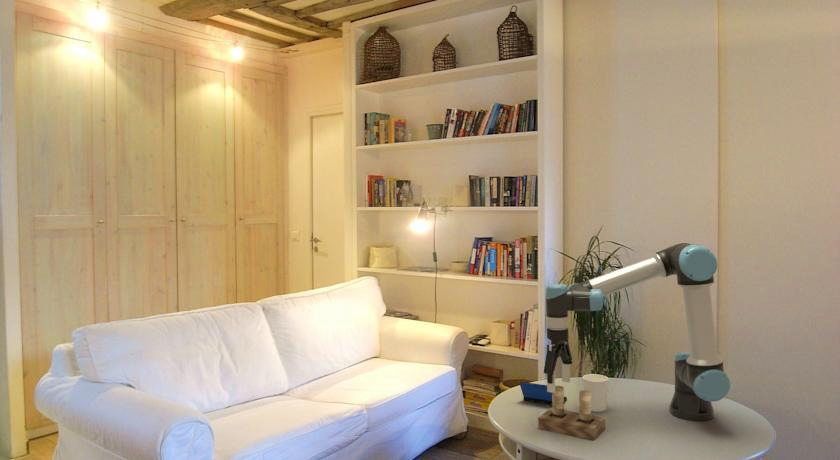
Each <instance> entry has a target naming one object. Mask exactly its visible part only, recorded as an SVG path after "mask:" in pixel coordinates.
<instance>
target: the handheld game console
mask: <svg viewBox="0 0 840 460" xmlns="http://www.w3.org/2000/svg"><path fill="white" fill-rule="evenodd" d="M519 386H520V389H521V393H522V396H523V401H525V402H530V403H537V404H545V405H550V406H552V392H547V384H541V383H533V382H532V383H531V382H524V381H520V383H519ZM567 400H568V397H567V396H564V403H565V402H567Z"/></svg>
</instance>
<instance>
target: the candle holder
mask: <svg viewBox="0 0 840 460" xmlns="http://www.w3.org/2000/svg"><path fill="white" fill-rule="evenodd" d="M609 380H610V379H609V377H608V376H606V375H603V374H599V373H598V374H596V373H589V374H584V375H583V376H582V390H587V391H590V392H591V412H595V413H601V412H605V411H607V409H608V395H609V393H608V392H609Z"/></svg>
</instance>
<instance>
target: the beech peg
mask: <svg viewBox="0 0 840 460" xmlns="http://www.w3.org/2000/svg"><path fill="white" fill-rule="evenodd" d="M564 394H565V388H564V386H561V385H555V393H552V405H551V406H552V407H551V408H552V417H557V418H564V410H565V402H564V397H565V395H564Z"/></svg>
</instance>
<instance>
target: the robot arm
mask: <svg viewBox="0 0 840 460" xmlns="http://www.w3.org/2000/svg"><path fill="white" fill-rule="evenodd" d="M717 268H718V260H717V257H716V255H715V253H713V252H712V251H711V250H710V249H709V248H707V247H706V246H703V245H701V244H693V243H692V244H691V243H687V242H682V243H681V242H680V243H676V244H674V245H670V246H669V247H666V248H664V249H662V250H659V251H656V252H654V253H653V254H652V256H651V257H648V258H645V259H643V260H640V261H637V262H635V263H632V264H629V265H626V266H624V267H621V268H618V269H616V270H613V271H610V272H607V273H604V274H602V275H599V276H596V277H593V278H591V279H588V280H586V281H583V282H582V281H581V282H574V283H572V284H570V285H569V286H568V285H567V284H564V283H551V284H548V285H547V286H546V287H545V309H546V310H545V311H546V317H545V321H546V327H547V329H546V338H547V340H550V342H551V343H550V344H547V345H546V355H545V356H546V357H545V361H544V367H543V374H546V385H547V392H552V393H555V386H556V373H555V370H556V366H557V363H558V358H560V359H561V361H562V363H561V382H563V383H571V369H570V368H571V365H572V364H573V357H572V352H571V349H570V345H569V337H570V335H569V312H588V311H589V312H594V311H595V312H596V311H601V310H602V309H603V306H604V297H605V296H608V295H612V294H614V293H616V292H620V291H622V290H625V289H628V288H631V287H633V286H636V285H639V284H642V283H645V282H648V281H650V280H652V279H656V278H659V277H661V278H666V277H670V276H676V280H677V286H679V287H680V288H681V290H682V293H683V301H684V311H685V318H686V319H685V320H686V328H687V329H686V330H687V337H688V345H689V351H680V352H677V353H675V355H674V361H673V362H674V392H673V396H672V398H671V400H670V403H669V413H670V414H671V415H672V416H674V417H677V418H680V419H683V420H689V421H709V420H712V419H713V418H714V417H715V409H714V407H713V404H712V402H713V403H714V402H719V401H721V400H723V399H725V397H726V396H727V395H728V394H729V392H730V390H731V380H730V377H728V375H727V374H726V373H725V370H724V369H725V368H724V361H723V358H722V357H720V355H718V349H717V342H716V332H715V330H716V329H715V322H714V313H713V303H712V295H711V286H712V285H713V284H714V283H715V279H714V274H715V273H716V272H717Z"/></svg>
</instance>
